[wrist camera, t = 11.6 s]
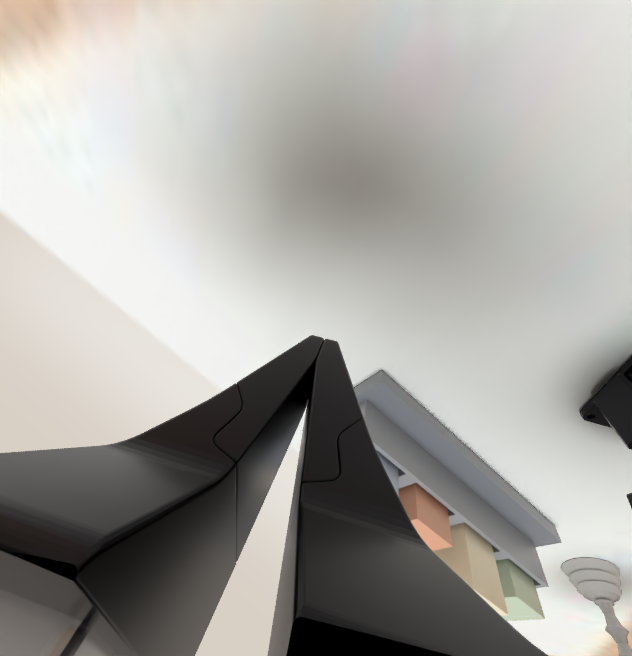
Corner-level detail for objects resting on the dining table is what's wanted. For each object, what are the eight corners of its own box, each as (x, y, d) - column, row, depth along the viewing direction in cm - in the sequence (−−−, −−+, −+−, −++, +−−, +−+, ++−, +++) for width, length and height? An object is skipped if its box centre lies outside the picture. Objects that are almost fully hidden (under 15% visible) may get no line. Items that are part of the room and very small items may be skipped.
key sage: (522, 545, 29) (545, 618, 25) (484, 552, 32) (499, 621, 27) (497, 524, 29) (516, 596, 24) (460, 532, 31) (471, 600, 26)
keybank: (554, 525, 30) (580, 587, 26) (464, 544, 35) (473, 598, 31) (381, 369, 25) (378, 415, 21) (306, 418, 30) (291, 462, 26)
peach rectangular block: (443, 478, 27) (452, 546, 22) (408, 490, 29) (409, 555, 25) (413, 453, 26) (417, 518, 22) (379, 467, 28) (376, 530, 24)
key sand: (489, 534, 27) (508, 615, 22) (450, 543, 29) (460, 618, 24) (461, 511, 26) (474, 589, 21) (422, 521, 28) (427, 595, 23)
